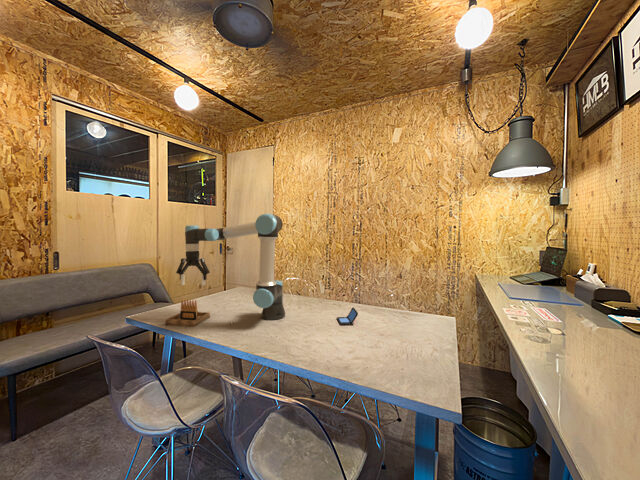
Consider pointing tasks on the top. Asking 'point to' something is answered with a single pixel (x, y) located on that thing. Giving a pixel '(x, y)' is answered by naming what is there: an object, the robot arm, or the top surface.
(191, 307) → the ammunition clip
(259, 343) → the top surface
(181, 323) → the tray
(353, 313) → the handheld game console
